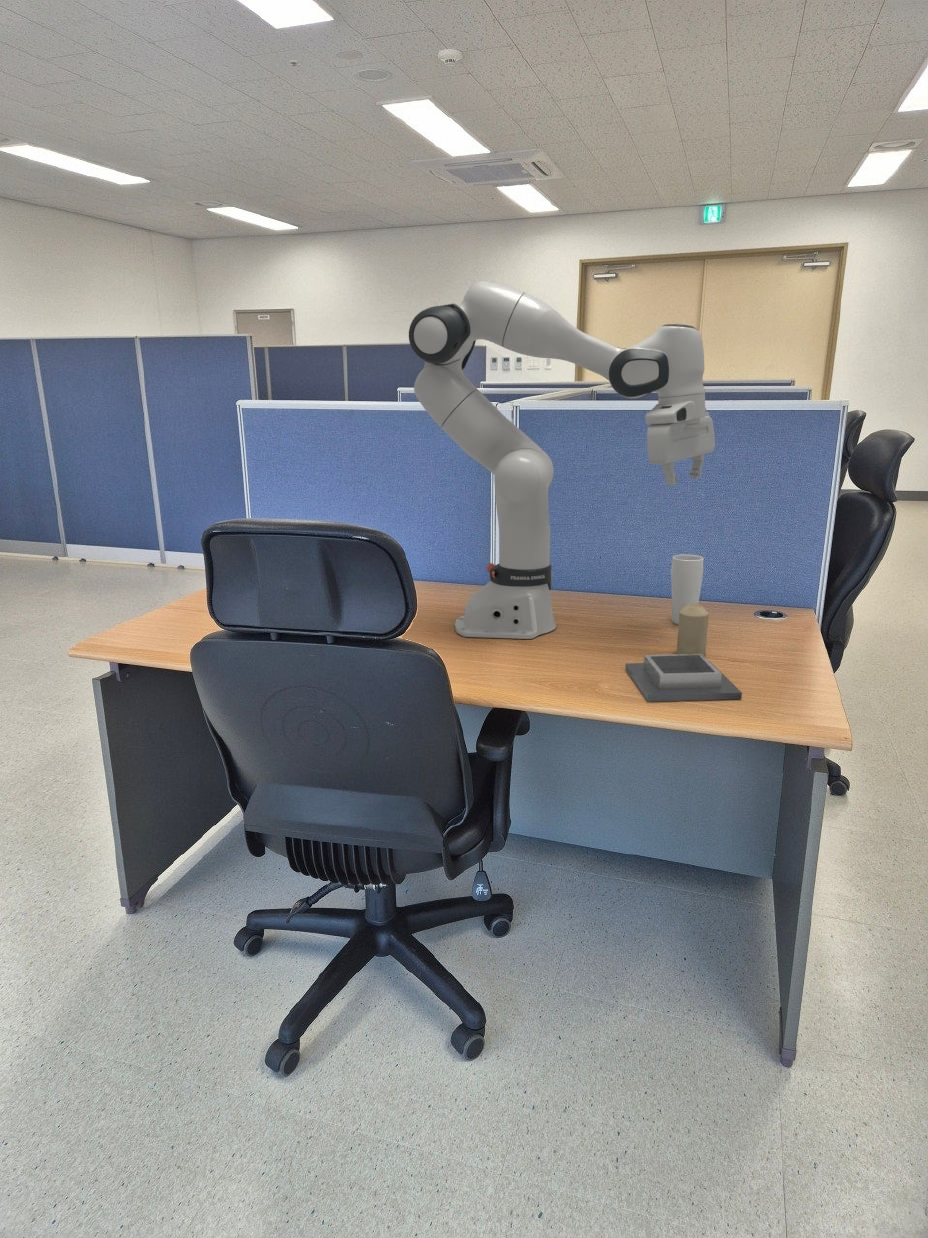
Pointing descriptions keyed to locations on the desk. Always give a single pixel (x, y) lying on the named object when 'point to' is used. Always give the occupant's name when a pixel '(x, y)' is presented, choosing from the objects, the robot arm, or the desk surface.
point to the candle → (692, 630)
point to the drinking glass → (685, 582)
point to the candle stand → (681, 679)
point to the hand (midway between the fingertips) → (683, 481)
